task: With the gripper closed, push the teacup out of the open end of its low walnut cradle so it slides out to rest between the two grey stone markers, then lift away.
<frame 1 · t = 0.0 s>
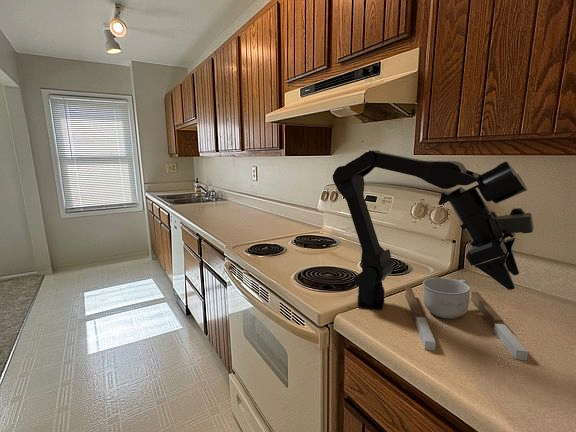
hand: (514, 281, 62), 15 cm above the counter, tool tilted 35°, fingers open, 9 cm apart
teacup: (448, 312, 80), on the counter
marker right: (509, 344, 66), on the counter
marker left: (424, 336, 69), on the counter
cradle: (448, 311, 80), on the counter
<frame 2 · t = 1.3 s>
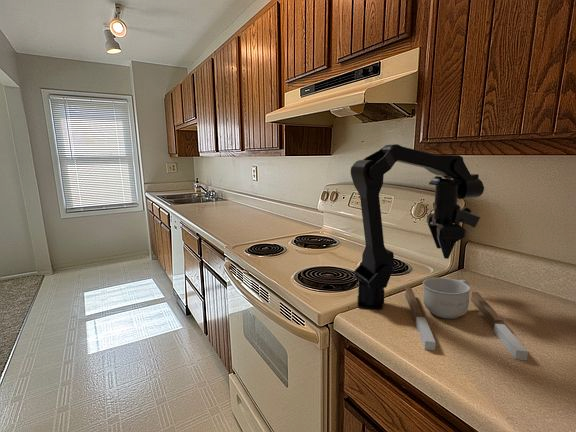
hand: (442, 253, 89), 12 cm above the counter, tool pointing down, fingers open, 9 cm apart
nothing on the counter moved.
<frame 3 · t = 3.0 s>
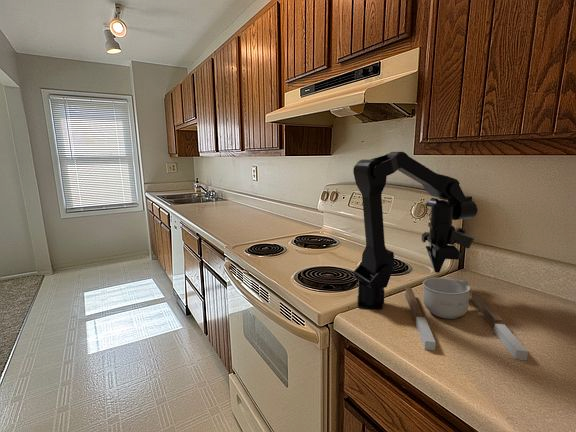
hand: (437, 272, 91), 6 cm above the counter, tool pointing down, fingers closed
nothing on the counter moved.
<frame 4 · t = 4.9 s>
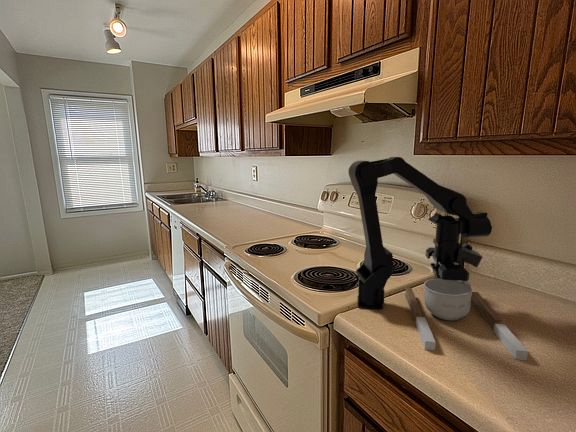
hand: (442, 291, 86), 3 cm above the counter, tool pointing down, fingers closed
teacup: (449, 313, 79), on the counter, touching gripper
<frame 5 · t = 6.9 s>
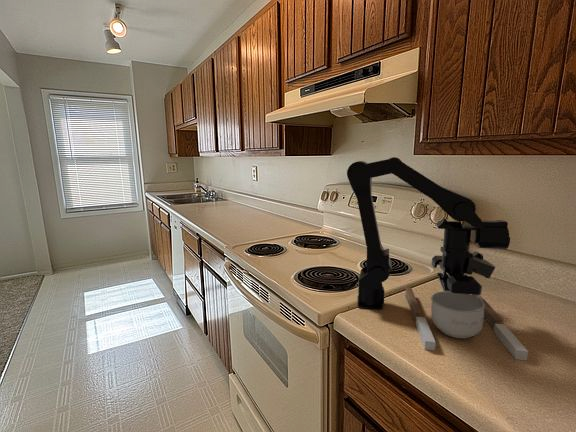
hand: (450, 304, 79), 3 cm above the counter, tool pointing down, fingers closed
teacup: (459, 330, 72), on the counter, touching gripper
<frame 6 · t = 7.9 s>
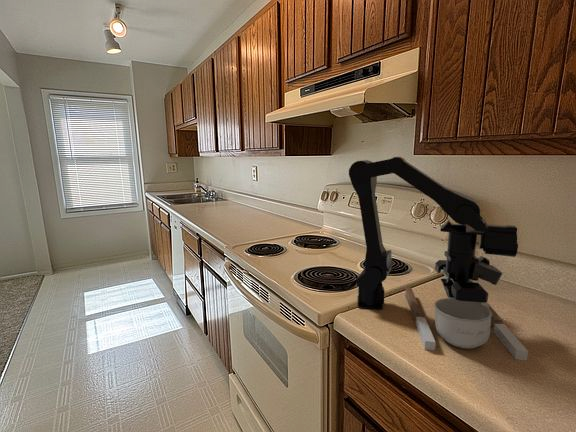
hand: (455, 311, 75), 3 cm above the counter, tool pointing down, fingers closed
teacup: (464, 339, 68), on the counter, touching gripper
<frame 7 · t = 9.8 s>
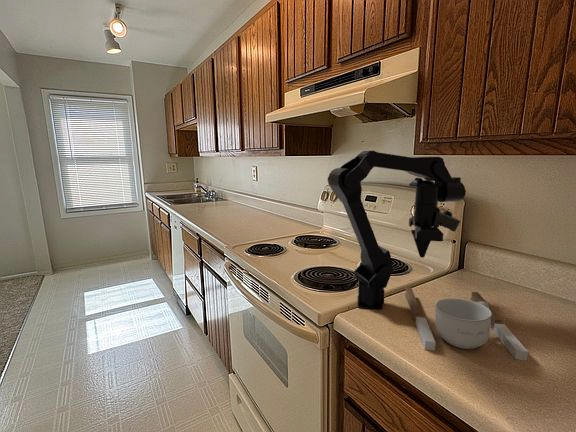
hand: (421, 257, 87), 12 cm above the counter, tool pointing down, fingers closed
teacup: (464, 339, 68), on the counter
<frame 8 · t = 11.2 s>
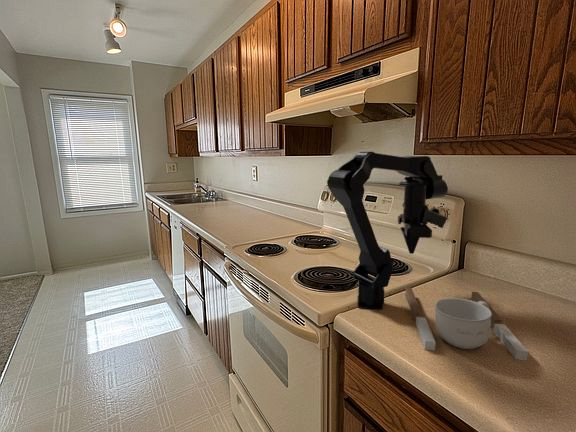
hand: (411, 253, 90), 12 cm above the counter, tool pointing down, fingers closed
nothing on the counter moved.
at the end: teacup inside the target area (1.2 cm from its centre), on the counter; teacup moved 12.3 cm from its start; teacup tilted 0° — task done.
